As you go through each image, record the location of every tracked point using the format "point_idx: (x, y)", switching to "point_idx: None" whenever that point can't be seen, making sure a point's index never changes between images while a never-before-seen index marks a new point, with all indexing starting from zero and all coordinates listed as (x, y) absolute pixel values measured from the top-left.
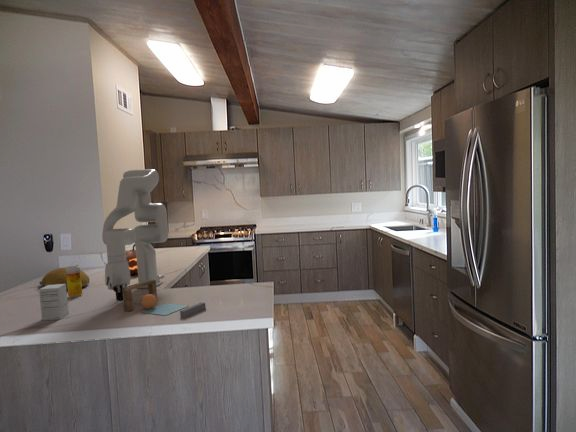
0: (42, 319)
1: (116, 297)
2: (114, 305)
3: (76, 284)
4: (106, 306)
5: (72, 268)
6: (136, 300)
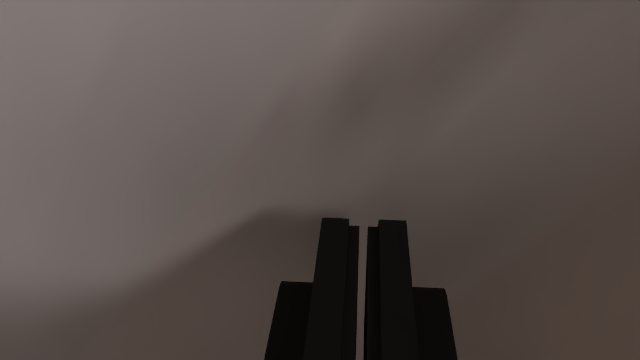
0: None
1: (276, 315)
2: (239, 209)
3: None
4: (122, 120)
5: None
6: (615, 323)
